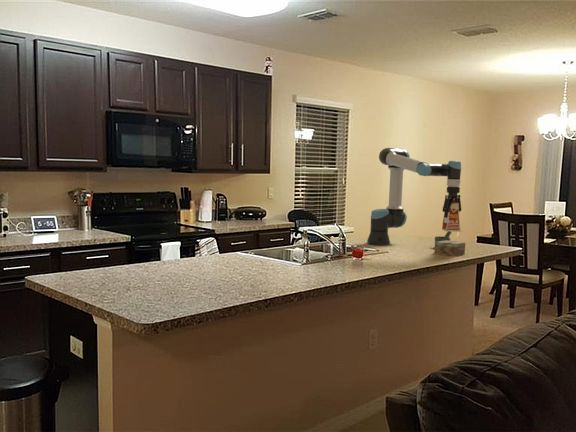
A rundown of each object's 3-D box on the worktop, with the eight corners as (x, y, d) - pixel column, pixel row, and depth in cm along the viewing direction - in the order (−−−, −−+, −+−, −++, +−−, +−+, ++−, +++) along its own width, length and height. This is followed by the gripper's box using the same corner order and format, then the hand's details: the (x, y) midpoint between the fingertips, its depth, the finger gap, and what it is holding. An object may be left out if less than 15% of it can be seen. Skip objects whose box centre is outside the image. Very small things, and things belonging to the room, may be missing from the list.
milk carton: (460, 231, 318) (462, 198, 316) (445, 231, 318) (447, 198, 317) (456, 229, 327) (458, 197, 325) (441, 229, 328) (443, 197, 326)
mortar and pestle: (431, 247, 349) (432, 229, 348) (439, 246, 355) (440, 228, 354) (446, 249, 340) (447, 231, 339) (454, 248, 346) (455, 230, 345)
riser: (434, 253, 325) (434, 241, 324) (445, 251, 334) (446, 240, 333) (453, 256, 315) (454, 244, 314) (464, 254, 324) (465, 242, 323)
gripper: (449, 186, 310) (446, 224, 312) (468, 186, 326) (466, 222, 328) (437, 186, 315) (435, 222, 317) (457, 186, 331) (455, 220, 333)
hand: (451, 222), depth 322 cm, fingers closed on milk carton, 11 cm apart
